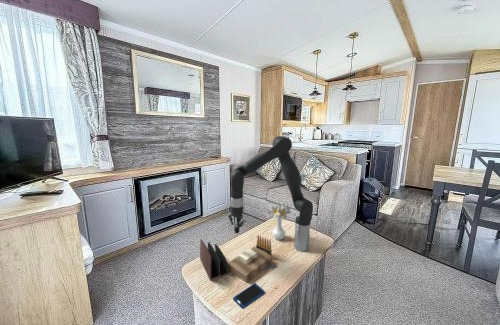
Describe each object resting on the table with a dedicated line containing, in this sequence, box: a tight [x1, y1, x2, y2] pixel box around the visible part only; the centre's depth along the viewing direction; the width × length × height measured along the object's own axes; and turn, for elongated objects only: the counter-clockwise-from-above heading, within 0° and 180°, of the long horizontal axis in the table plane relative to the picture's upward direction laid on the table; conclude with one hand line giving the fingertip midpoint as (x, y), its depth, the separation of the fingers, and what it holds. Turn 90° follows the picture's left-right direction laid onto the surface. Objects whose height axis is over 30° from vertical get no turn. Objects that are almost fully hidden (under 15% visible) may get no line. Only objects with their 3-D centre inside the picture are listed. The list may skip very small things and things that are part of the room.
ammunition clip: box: [255, 234, 273, 257], centre depth 124 cm, size 11×2×12 cm, turn 51°
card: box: [238, 248, 257, 264], centre depth 115 cm, size 9×6×2 cm, turn 137°
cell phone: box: [232, 283, 266, 309], centre depth 94 cm, size 7×14×1 cm, turn 131°
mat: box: [262, 262, 279, 271], centre depth 107 cm, size 20×9×1 cm, turn 137°
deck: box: [228, 246, 273, 283], centre depth 114 cm, size 22×14×4 cm, turn 137°
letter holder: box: [199, 239, 229, 281], centre depth 113 cm, size 10×20×14 cm, turn 28°
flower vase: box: [264, 202, 292, 241], centre depth 142 cm, size 13×18×25 cm
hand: (236, 232), depth 119 cm, fingers closed
